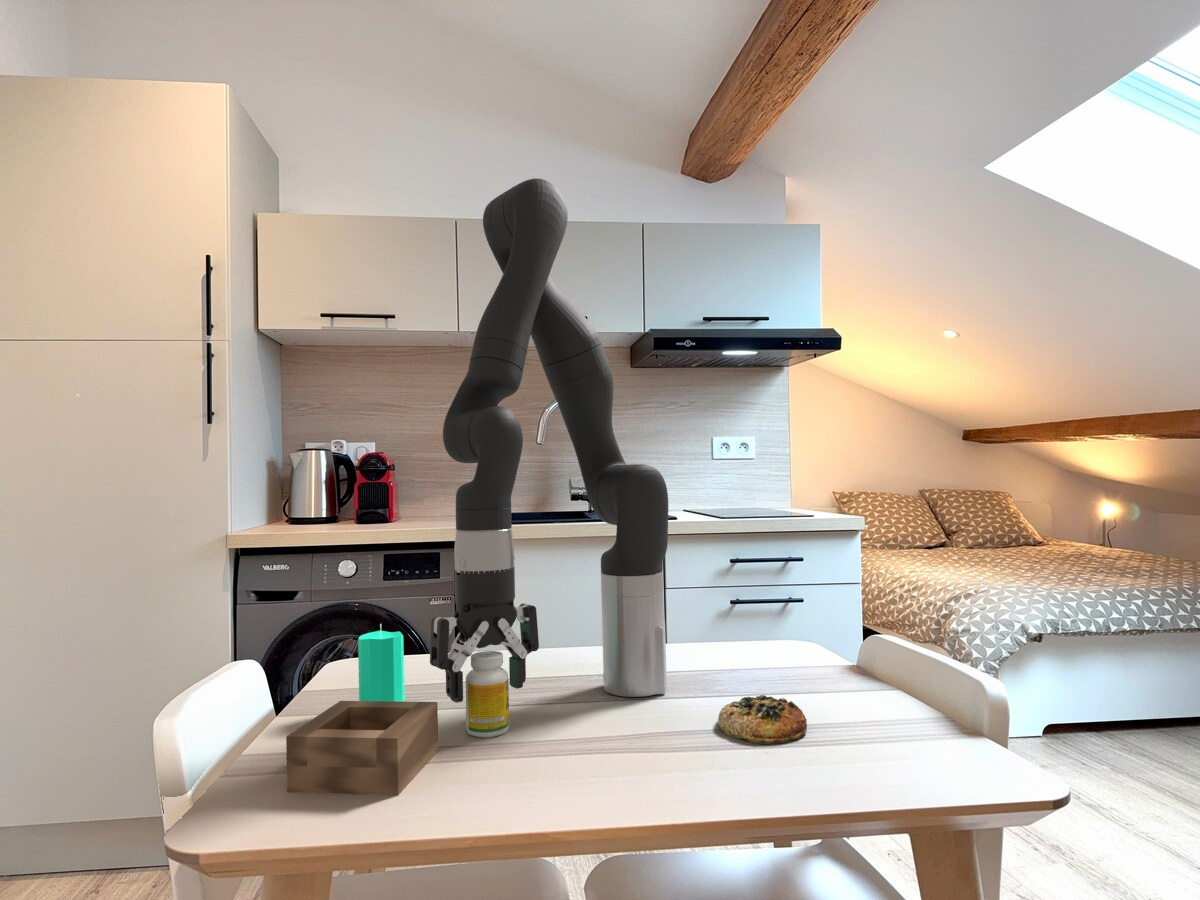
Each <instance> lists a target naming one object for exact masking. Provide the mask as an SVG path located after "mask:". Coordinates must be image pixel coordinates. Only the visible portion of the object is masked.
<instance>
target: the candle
mask: <svg viewBox="0 0 1200 900" xmlns="http://www.w3.org/2000/svg"><path fill="white" fill-rule="evenodd" d="M379 628H380V630H376V631H372V632H371V631H370V632H367V633H365V634H361V635H360V636H359V637H358V639H357V641H358V642H357V647H358V649H357V650H358V651H357V652H358V701H400V702H405V668H404V666H405V661H404V660H405V659H404V656H405V654H404V635H403V633H402V632H401V631H394V632H393V631H392V632H390V631H386V630H382V623H380V624H379Z"/></svg>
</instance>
